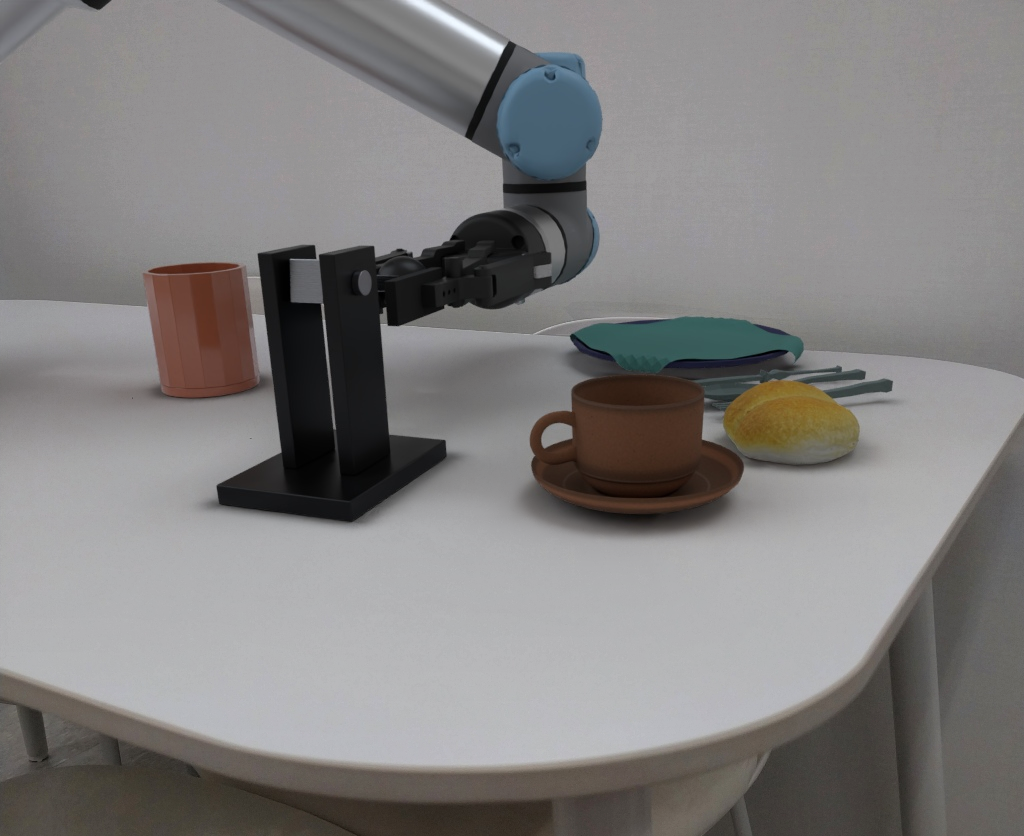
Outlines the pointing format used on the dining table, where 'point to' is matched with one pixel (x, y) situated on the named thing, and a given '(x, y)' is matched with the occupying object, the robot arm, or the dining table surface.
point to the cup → (202, 328)
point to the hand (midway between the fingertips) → (360, 302)
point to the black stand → (328, 397)
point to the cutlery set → (710, 353)
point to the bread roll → (790, 424)
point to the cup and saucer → (634, 448)
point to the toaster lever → (309, 278)
